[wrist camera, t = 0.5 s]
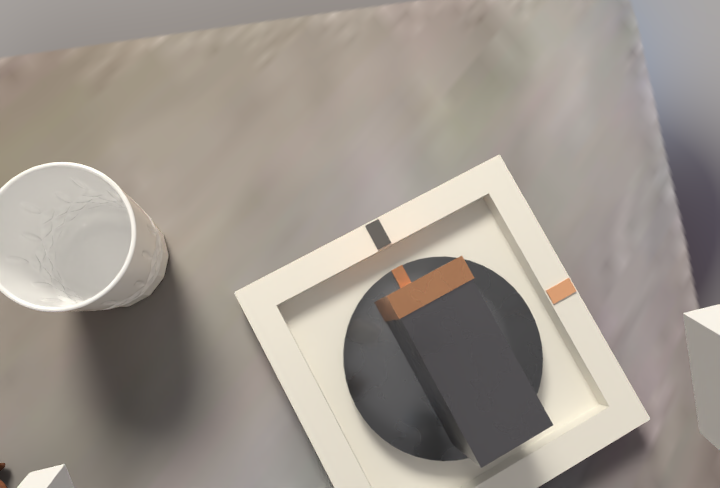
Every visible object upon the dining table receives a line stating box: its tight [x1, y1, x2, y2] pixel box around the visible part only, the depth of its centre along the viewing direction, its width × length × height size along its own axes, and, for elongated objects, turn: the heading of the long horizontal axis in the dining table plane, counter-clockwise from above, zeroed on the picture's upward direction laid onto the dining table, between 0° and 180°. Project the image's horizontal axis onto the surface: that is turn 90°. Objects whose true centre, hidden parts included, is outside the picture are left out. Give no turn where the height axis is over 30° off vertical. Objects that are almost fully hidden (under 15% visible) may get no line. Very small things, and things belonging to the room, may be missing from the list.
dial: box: [343, 256, 553, 468], centre depth 37 cm, size 13×13×9 cm
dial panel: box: [234, 155, 650, 488], centre depth 41 cm, size 20×20×3 cm
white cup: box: [0, 162, 169, 312], centre depth 37 cm, size 8×8×10 cm
